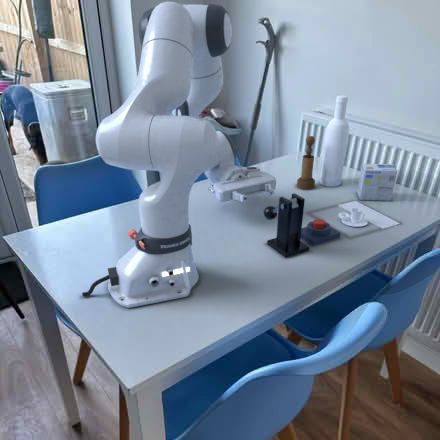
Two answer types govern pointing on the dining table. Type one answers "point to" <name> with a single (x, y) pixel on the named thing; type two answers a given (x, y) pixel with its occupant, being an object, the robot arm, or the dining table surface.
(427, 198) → the dining table surface
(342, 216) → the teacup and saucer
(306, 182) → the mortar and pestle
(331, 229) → the button housing
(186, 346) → the dining table surface
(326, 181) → the bottle
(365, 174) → the light bulb box
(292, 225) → the switch bracket
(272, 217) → the lever
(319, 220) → the button
